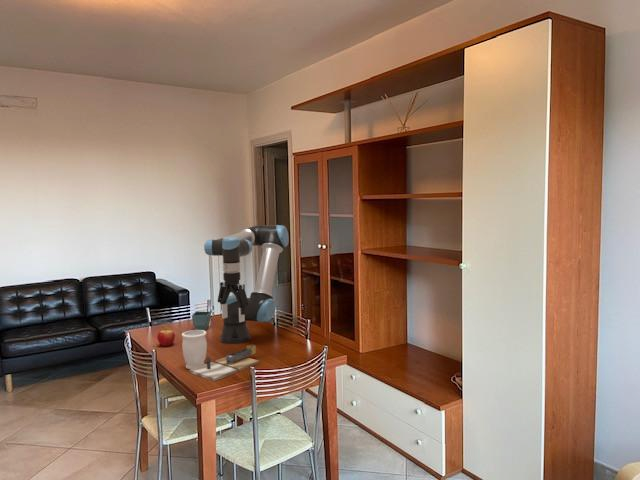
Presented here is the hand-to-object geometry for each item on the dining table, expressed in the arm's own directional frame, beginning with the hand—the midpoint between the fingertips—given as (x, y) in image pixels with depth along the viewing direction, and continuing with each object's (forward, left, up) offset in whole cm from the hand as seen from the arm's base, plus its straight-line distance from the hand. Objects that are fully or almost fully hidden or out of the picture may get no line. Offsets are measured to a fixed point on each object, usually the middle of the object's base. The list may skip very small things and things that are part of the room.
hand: (233, 319), depth 219 cm
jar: (-6, -17, -18) cm, 26 cm away
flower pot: (-53, +23, -18) cm, 60 cm away
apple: (-43, -7, -18) cm, 47 cm away
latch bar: (+6, -2, -16) cm, 17 cm away
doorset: (+6, -11, -18) cm, 22 cm away
